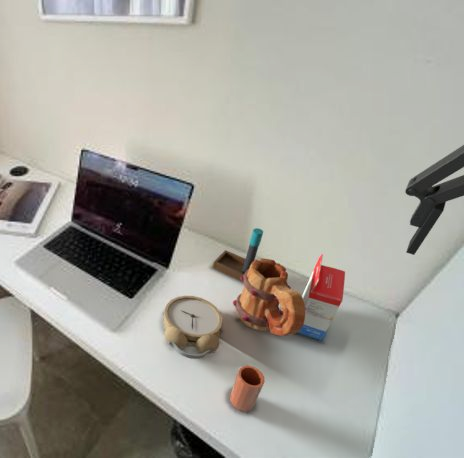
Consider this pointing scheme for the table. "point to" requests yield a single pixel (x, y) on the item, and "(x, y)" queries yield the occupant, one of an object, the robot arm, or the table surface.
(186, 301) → the alarm clock
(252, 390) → the pen pot
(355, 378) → the table surface
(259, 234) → the marker
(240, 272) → the pen tray
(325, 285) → the ink box
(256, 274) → the mug
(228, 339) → the table surface
